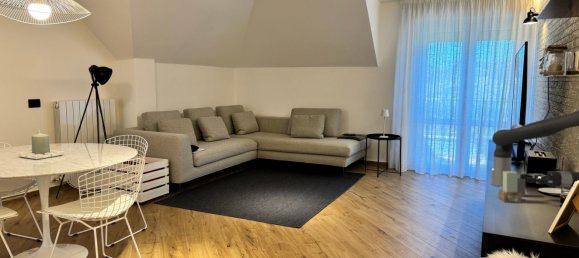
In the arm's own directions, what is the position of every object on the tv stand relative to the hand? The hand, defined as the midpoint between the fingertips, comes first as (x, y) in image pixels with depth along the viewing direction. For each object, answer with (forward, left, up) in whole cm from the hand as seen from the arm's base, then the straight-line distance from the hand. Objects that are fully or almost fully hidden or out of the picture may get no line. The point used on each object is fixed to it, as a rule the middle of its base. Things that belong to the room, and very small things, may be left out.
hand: (523, 178), depth 200 cm
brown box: (-5, -3, -12) cm, 14 cm away
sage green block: (-5, -4, -7) cm, 9 cm away
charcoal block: (-7, +10, -12) cm, 17 cm away
